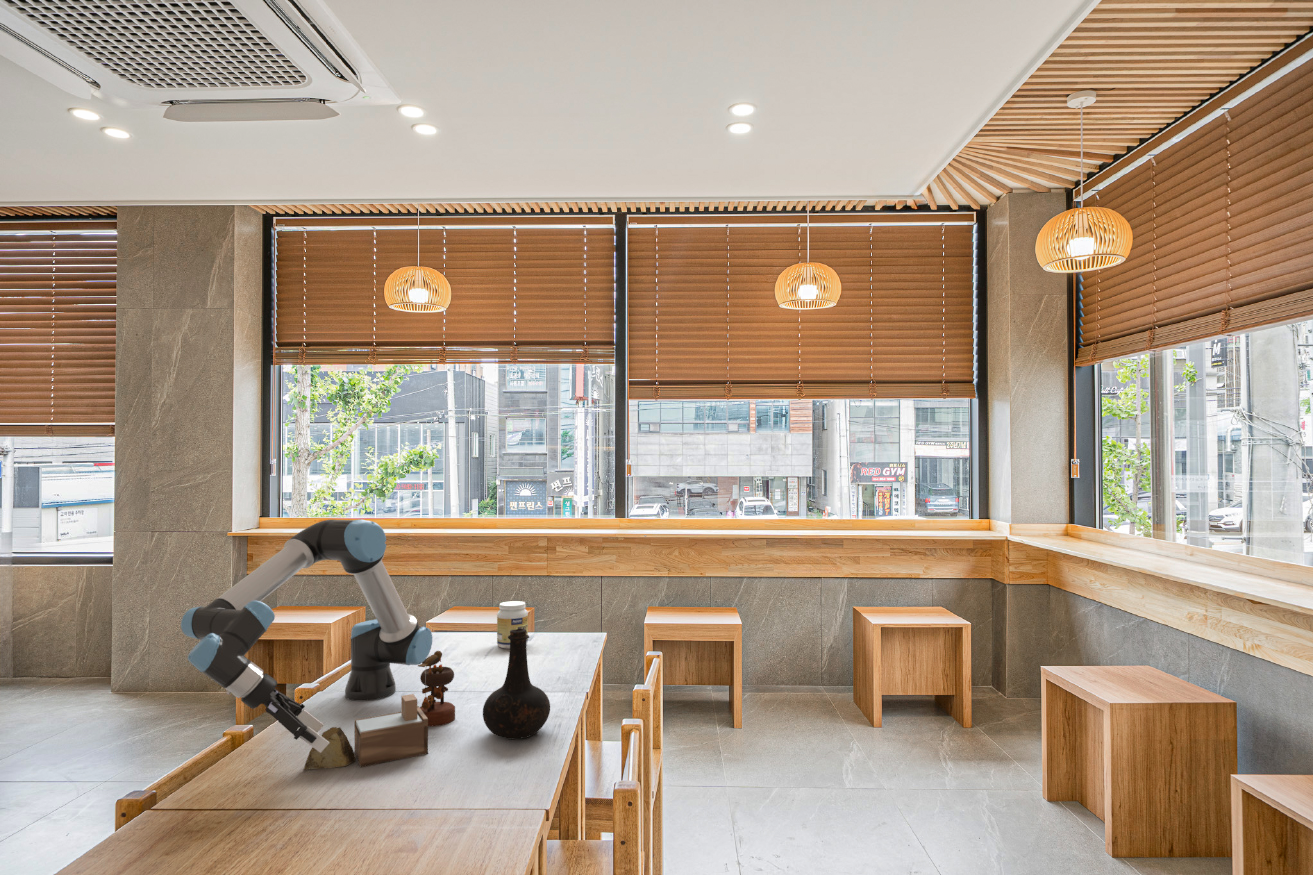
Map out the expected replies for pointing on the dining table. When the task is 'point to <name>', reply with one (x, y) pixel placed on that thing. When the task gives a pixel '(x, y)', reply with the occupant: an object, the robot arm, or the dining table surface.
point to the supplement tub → (510, 621)
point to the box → (391, 742)
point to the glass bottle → (516, 697)
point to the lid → (393, 716)
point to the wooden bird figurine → (436, 691)
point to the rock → (332, 751)
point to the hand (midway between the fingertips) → (322, 738)
